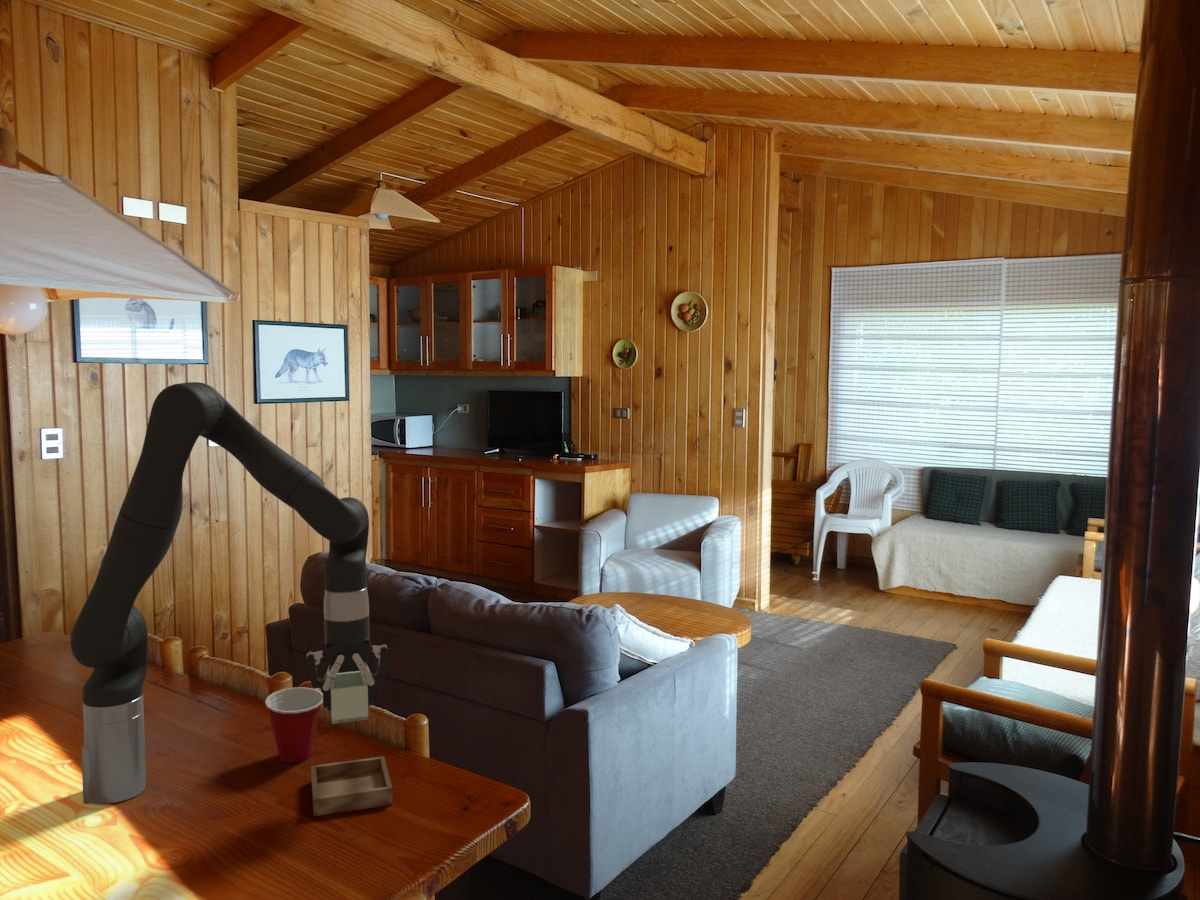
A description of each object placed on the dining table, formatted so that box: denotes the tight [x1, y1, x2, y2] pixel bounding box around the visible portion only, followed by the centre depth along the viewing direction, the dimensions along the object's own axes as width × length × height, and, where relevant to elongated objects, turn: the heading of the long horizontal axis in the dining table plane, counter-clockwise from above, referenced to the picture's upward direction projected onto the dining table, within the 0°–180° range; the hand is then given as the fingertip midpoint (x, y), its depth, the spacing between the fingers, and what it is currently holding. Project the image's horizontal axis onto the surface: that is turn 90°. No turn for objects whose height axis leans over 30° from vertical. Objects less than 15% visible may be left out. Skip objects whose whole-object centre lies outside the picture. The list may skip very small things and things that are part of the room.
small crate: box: [330, 670, 369, 725], centre depth 152 cm, size 6×8×6 cm
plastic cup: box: [264, 686, 323, 764], centre depth 168 cm, size 11×11×12 cm
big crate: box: [310, 755, 393, 817], centre depth 155 cm, size 13×13×3 cm
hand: (349, 706), depth 153 cm, fingers closed on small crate, 6 cm apart
